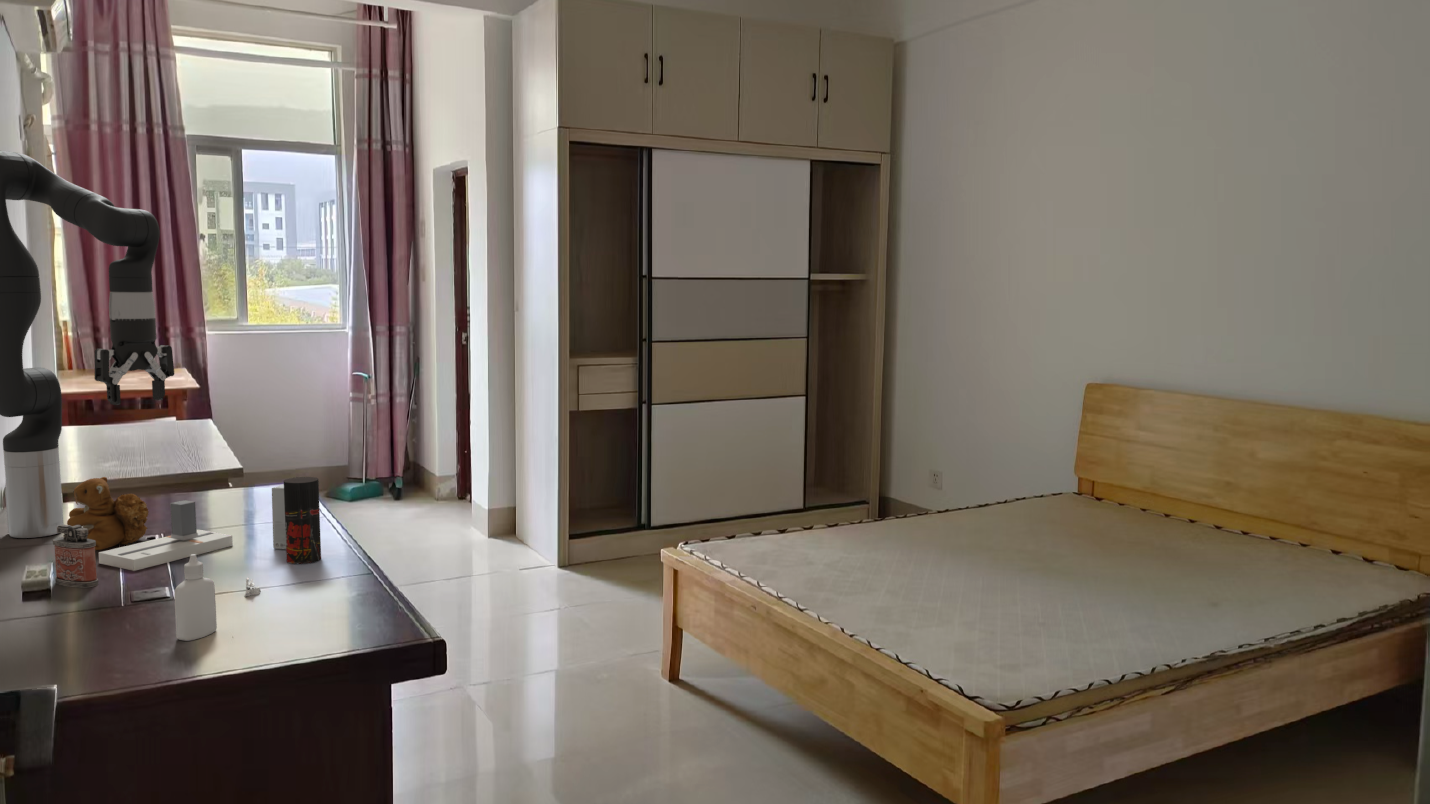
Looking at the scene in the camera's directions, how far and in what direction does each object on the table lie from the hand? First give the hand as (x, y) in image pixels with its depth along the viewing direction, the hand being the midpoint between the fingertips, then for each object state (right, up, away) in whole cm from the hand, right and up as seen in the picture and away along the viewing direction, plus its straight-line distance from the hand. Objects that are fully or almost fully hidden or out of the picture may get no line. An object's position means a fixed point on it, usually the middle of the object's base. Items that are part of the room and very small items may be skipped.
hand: (137, 402), depth 195 cm
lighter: (+2, -31, -21) cm, 37 cm away
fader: (+9, -26, +1) cm, 27 cm away
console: (+7, -29, -2) cm, 29 cm away
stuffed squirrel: (-8, -28, +5) cm, 29 cm away
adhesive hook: (+35, -32, -25) cm, 54 cm away
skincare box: (+27, -28, +5) cm, 40 cm away
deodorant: (+34, -29, -5) cm, 45 cm away
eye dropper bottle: (+34, -34, -45) cm, 66 cm away
